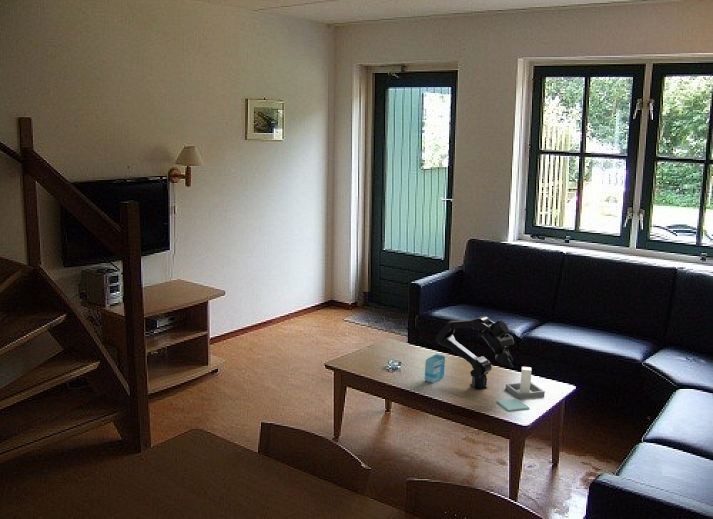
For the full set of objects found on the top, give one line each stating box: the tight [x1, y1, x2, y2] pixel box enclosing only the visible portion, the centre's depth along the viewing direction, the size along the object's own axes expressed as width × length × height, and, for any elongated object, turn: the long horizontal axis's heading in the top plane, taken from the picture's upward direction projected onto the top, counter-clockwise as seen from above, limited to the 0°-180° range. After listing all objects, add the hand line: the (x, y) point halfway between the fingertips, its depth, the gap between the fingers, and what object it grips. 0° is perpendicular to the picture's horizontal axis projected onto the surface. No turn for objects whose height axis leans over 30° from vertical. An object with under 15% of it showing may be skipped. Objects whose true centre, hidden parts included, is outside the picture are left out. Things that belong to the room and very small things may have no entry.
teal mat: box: [496, 398, 530, 412], centre depth 327 cm, size 11×11×1 cm
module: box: [519, 366, 532, 393], centre depth 342 cm, size 4×4×12 cm
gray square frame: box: [505, 381, 546, 400], centre depth 343 cm, size 14×13×2 cm
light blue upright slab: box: [424, 354, 446, 384], centre depth 355 cm, size 12×4×12 cm, turn 142°
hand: (512, 364), depth 342 cm, fingers open, 9 cm apart
